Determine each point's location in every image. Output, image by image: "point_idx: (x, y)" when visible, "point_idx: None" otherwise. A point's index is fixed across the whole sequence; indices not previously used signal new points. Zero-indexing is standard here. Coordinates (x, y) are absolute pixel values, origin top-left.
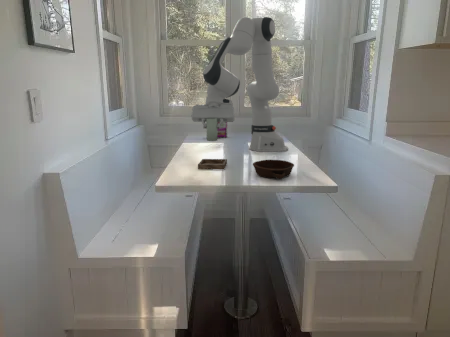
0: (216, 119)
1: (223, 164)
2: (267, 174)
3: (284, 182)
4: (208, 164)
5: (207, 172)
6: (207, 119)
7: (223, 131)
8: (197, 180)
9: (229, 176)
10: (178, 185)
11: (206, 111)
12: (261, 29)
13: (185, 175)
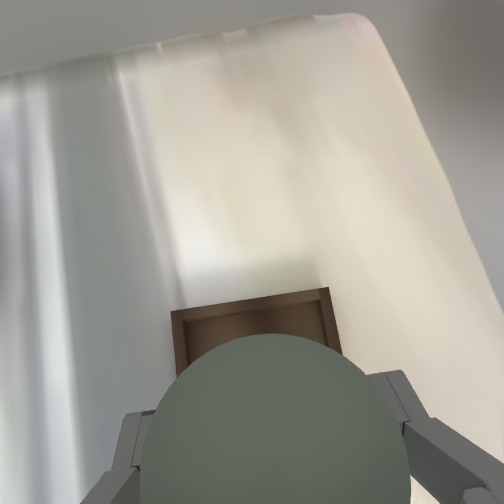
0: (149, 430)
1: (176, 323)
2: None
3: None
4: (266, 303)
5: (249, 238)
6: (342, 357)
7: None
8: (249, 102)
9: (122, 191)
10: (298, 28)
11: None
12: None
13: (335, 162)
